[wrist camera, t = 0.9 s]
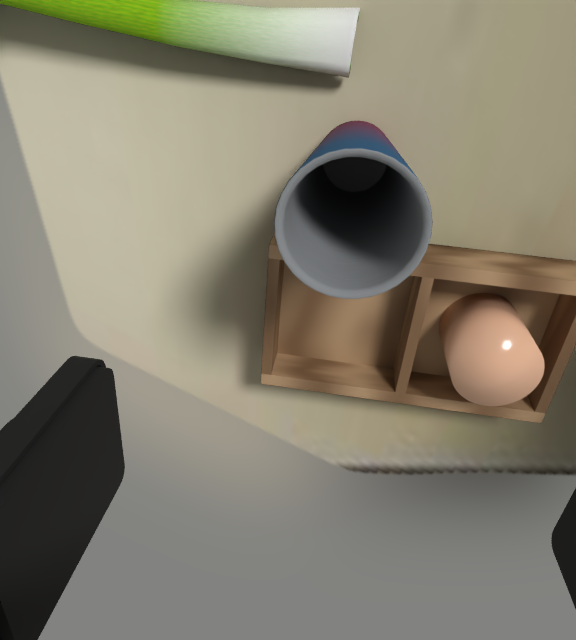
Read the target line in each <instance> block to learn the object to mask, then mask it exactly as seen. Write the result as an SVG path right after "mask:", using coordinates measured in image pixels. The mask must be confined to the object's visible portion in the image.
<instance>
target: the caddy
mask: <svg viewBox="0 0 576 640" xmlns="http://www.w3.org/2000/svg"><path fill="white" fill-rule="evenodd" d="M475 293H492V294H496V295H499V296H502V297H504V298H505V299H507V300H508V301H509V302H511V303H512V304H513V306H514V307H515V309H516V310H517V312H518V314H519V315H520V317H521V319H522V321H523V322H524V324H525V326H526V327H527V329H528V331H529V333H530V334H531V336H532V338H533V339H534V341H535V343H536V345H537V346H538V348H539V350H540V351H541V353H542V356H543V358H544V367H545V368H544V373H543V376H542V379H541V381H540V383H539V384H538V385H537V387H536V388H535V389H534V390H533V391H532V392H531V393H530V394H528V395H527V396H525V397H524V398H522V399H520V400H518V401H516V402H514V403H510V404H507V405H502V406H484V405H479V404H475V403H473V402H470V401H468V400H467V399H465V398H464V397H462V396H461V395H460V394H459V393H458V392H457V391H456V389H455V388H454V386H453V384H452V380H451V376H450V373H449V369H448V365H447V362H446V358H445V354H444V350H443V347H442V343H441V339H440V336H439V323H440V320H441V317H442V315H443V314H444V312H445V311H446V309H447V308H448V307H449V306H450V305H451V304H452V303H454V302H455V301H457V300H458V299H460V298H462V297H464V296H467V295H470V294H475ZM575 345H576V261H572V260H563V259H554V258H546V257H537V256H529V255H520V254H512V253H503V252H495V251H486V250H478V249H469V248H461V247H452V246H443V245H435V244H428V247H427V251H426V253H425V254H424V256H423V258H422V260H421V262H420V263H419V265H418V266H417V267H416V268H415V270H414V271H413V272H412V273H411V274H410V276H408V277H407V278H406V279H405V280H404V281H402V282H401V283H400V284H399V285H397V286H395V287H394V288H392V289H390V290H388V291H386V292H384V293H381V294H378V295H375V296H372V297H367V298H361V299H342V298H336V297H331V296H328V295H325V294H322V293H320V292H317V291H315V290H314V289H312V288H310V287H309V286H307V285H305V284H304V283H303V282H302V281H300V280H299V279H298V278H297V277H296V276H295V275H294V274H293V273H292V272H291V270H290V269H289V268H288V266H287V265H286V264H285V262H284V260H283V258H282V256H281V254H280V252H279V249H278V245H277V242H276V238H275V233H274V235H273V237H272V240H271V242H270V244H269V256H268V273H267V289H266V306H265V322H264V339H263V355H262V372H261V384H268V385H275V386H282V387H289V388H296V389H303V390H310V391H317V392H324V393H331V394H338V395H345V396H352V397H360V398H367V399H374V400H381V401H388V402H395V403H402V404H409V405H416V406H423V407H430V408H437V409H444V410H452V411H459V412H466V413H473V414H480V415H487V416H494V417H501V418H508V419H515V420H522V421H529V422H536V423H542V420H543V418H544V416H545V414H546V411H547V409H548V407H549V404H550V402H551V400H552V398H553V395H554V393H555V391H556V388H557V386H558V384H559V382H560V379H561V377H562V375H563V373H564V370H565V368H566V366H567V363H568V361H569V359H570V357H571V354H572V352H573V350H574V348H575Z"/></svg>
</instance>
